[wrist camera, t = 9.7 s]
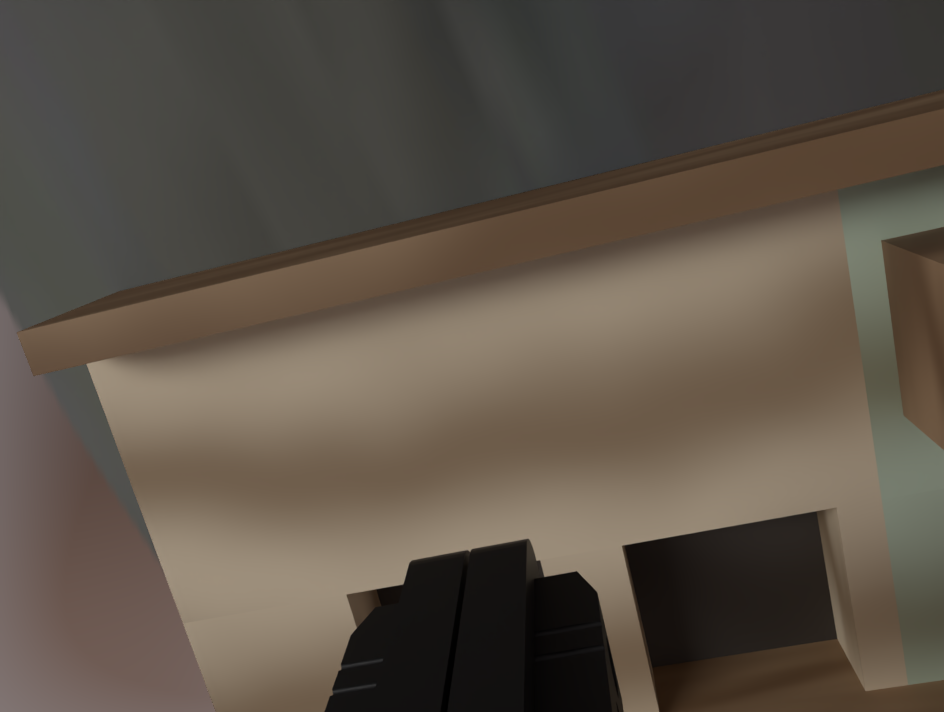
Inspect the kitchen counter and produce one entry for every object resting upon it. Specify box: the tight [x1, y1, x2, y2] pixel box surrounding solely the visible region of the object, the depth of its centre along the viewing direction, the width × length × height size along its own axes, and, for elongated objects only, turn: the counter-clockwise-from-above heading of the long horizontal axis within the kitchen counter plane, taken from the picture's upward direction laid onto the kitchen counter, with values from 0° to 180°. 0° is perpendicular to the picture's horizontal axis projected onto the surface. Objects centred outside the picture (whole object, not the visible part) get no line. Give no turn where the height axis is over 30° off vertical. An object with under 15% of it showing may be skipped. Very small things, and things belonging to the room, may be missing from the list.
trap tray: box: [17, 90, 944, 712], centre depth 21 cm, size 14×24×4 cm, turn 104°
